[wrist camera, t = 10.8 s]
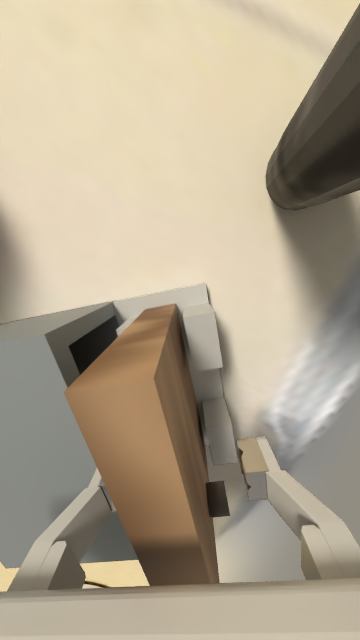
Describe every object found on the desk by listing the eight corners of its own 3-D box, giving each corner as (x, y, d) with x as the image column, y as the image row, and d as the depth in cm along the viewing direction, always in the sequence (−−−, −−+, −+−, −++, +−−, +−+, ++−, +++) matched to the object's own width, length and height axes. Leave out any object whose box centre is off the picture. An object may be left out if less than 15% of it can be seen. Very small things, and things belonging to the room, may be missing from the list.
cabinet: (229, 435, 19) (259, 551, 11) (74, 454, 20) (5, 568, 13) (204, 282, 14) (225, 299, 7) (10, 321, 16) (-153, 372, 8)
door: (190, 300, 14) (199, 370, 4) (216, 436, 18) (251, 633, 8) (145, 309, 14) (63, 391, 5) (179, 441, 18) (172, 636, 9)
